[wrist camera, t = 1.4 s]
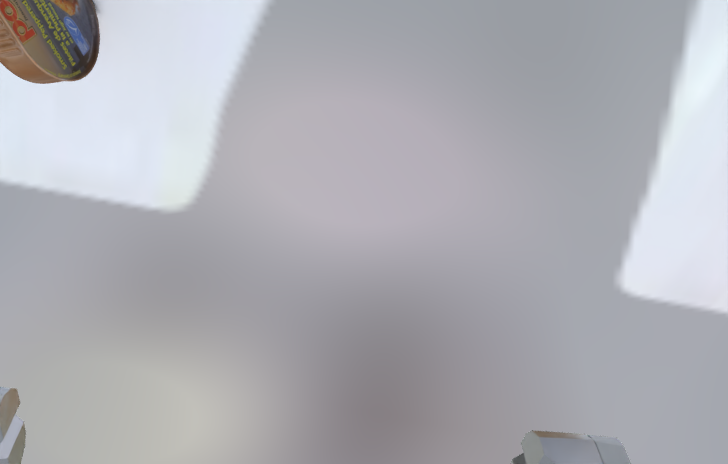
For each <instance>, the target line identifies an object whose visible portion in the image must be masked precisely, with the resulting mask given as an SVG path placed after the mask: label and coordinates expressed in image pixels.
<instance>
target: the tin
mask: <svg viewBox="0 0 728 464" xmlns="http://www.w3.org/2000/svg"><path fill="white" fill-rule="evenodd" d="M99 44H100V34H99V23H98V18H97V14H96V11H95V7H94V4H93V2H92V0H0V62H1V63H2V64H3V65H4V66H5V67H6V68H7V69H8V70H9V71H11V72H12V73H13V74H15V75H16V76H18V77H20V78H22V79H24V80H27V81H29V82H33V83H40V84H46V83H55V82H61V81H76V80H80V79H82V78H84V77H85V76H86V75H88V74H89V73H90V71H91V70H92V68H93V67H94V65H95V63H96V60H97V57H98V53H99Z"/></svg>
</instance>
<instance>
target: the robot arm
mask: <svg viewBox="0 0 728 464" xmlns="http://www.w3.org/2000/svg"><path fill="white" fill-rule="evenodd" d="M19 405H20V399H19V395H18V391H17V389H15V388H6V387H0V464H21V461H22V457H23V452H24V448H25V438H26V436H25V435H26V430H25V424H24V421H23V420H22V419H20V418H19V417H18V416H17V415H16V414H15V413H16V411H17V409H18V407H19ZM521 445H522V449H523V453H522V454H521V455H519V456H517V457H515V458H514V459H512V461H511V463H510V464H631V463H630V460H629V458H628V455H627V453H626V450H625V448H624V446H623V444H622V443H621V441H620V440H619V439H617V438H615V437H607V436H593V435H585V434H577V433H563V432H548V431H533V430H532V431H530V432H528V433H527V434H526V435H525V437H524V439H523V440H522V442H521Z"/></svg>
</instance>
